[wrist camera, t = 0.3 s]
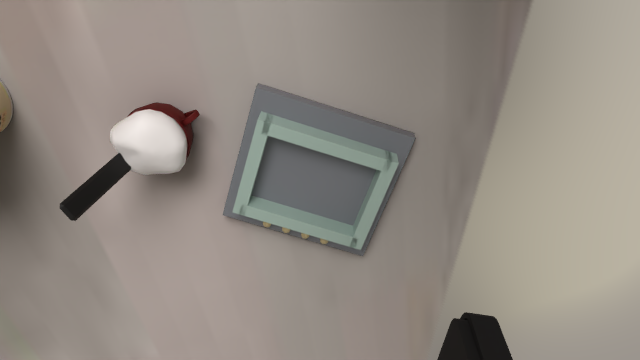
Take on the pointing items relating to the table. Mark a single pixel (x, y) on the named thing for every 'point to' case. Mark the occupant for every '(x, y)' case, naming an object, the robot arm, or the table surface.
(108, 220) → the table surface
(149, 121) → the cocoa
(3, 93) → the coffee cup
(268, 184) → the holder board
